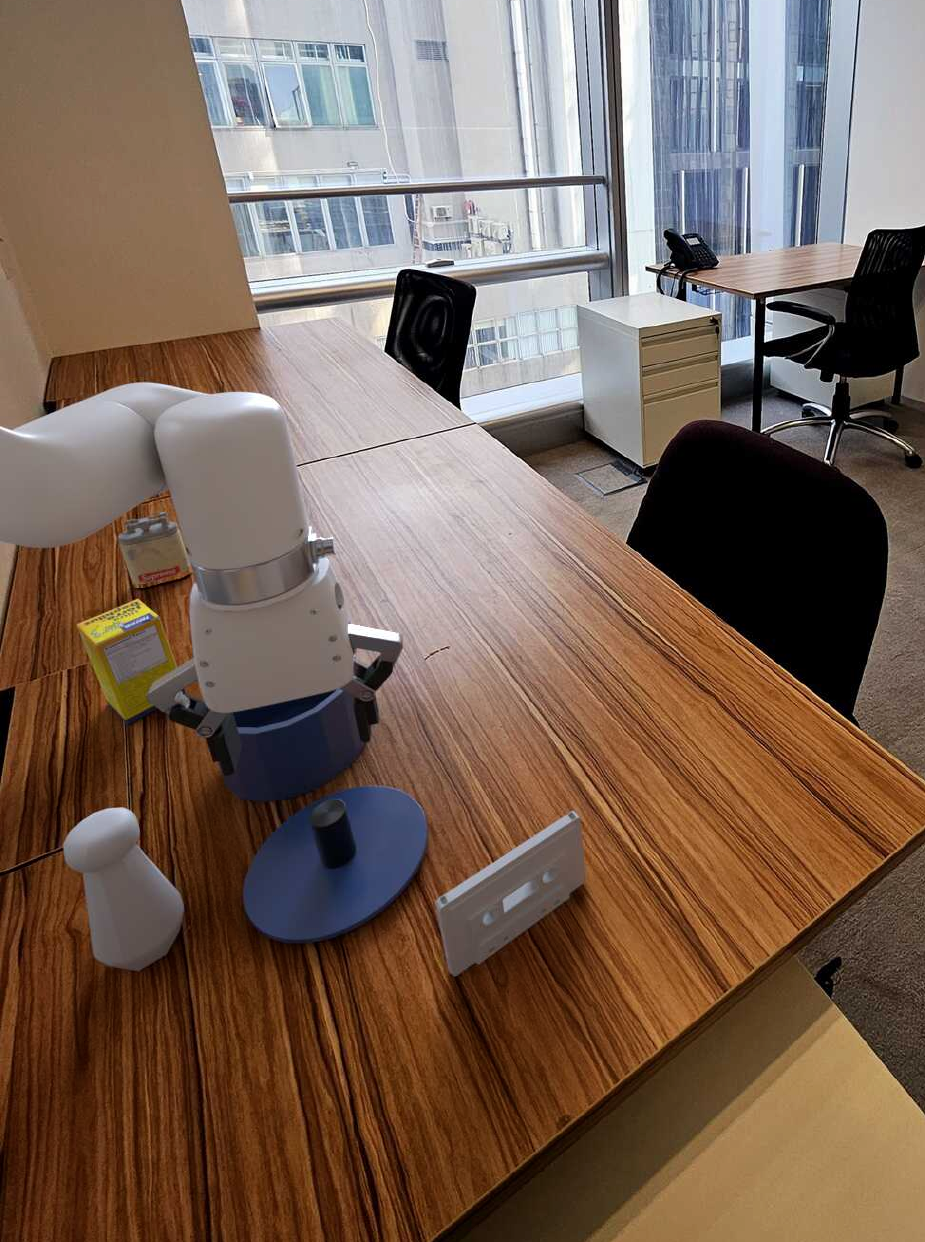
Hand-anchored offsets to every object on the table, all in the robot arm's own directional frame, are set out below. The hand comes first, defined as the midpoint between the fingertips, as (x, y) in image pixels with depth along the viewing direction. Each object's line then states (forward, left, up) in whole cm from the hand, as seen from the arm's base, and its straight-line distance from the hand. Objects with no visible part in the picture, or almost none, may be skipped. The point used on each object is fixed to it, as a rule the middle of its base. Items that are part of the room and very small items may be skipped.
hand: (302, 745), depth 59 cm
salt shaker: (-13, -2, -14) cm, 19 cm away
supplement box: (-21, +30, -14) cm, 39 cm away
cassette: (+15, -11, -14) cm, 23 cm away
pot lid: (+1, 0, -13) cm, 13 cm away
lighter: (-26, +58, -14) cm, 65 cm away
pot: (-4, +16, -14) cm, 21 cm away
